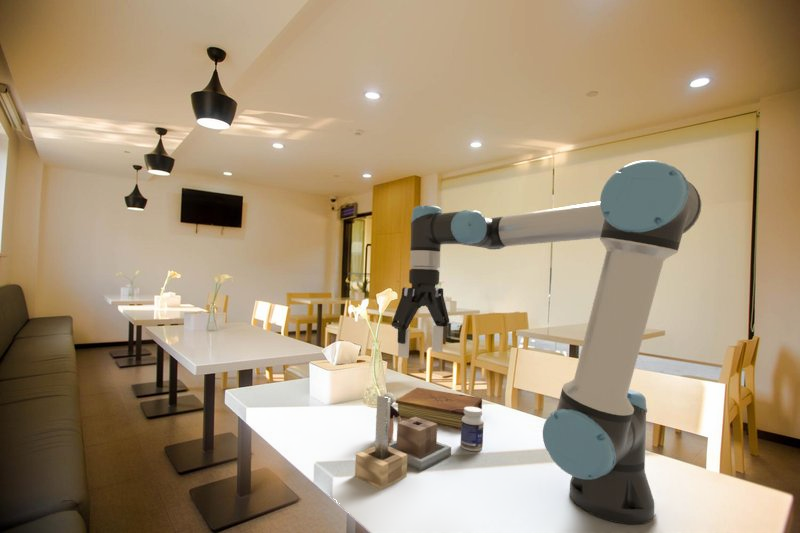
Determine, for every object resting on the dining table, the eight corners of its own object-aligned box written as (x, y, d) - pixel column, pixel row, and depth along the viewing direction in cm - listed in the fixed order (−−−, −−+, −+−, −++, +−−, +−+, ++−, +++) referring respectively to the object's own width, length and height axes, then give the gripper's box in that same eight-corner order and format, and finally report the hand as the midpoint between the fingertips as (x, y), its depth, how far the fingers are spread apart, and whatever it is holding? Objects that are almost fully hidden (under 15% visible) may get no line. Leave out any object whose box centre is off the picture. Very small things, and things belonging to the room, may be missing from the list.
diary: (481, 414, 136) (482, 397, 136) (465, 433, 119) (466, 413, 119) (417, 402, 146) (418, 386, 146) (394, 418, 129) (395, 399, 129)
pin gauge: (390, 473, 90) (393, 397, 92) (379, 476, 88) (382, 398, 90) (381, 469, 92) (384, 395, 95) (371, 472, 90) (374, 396, 93)
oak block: (406, 477, 90) (407, 454, 90) (381, 490, 84) (382, 466, 84) (380, 465, 96) (381, 443, 96) (354, 477, 89) (355, 453, 90)
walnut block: (436, 452, 102) (437, 423, 102) (418, 460, 97) (419, 430, 97) (414, 443, 107) (415, 416, 107) (396, 451, 101) (397, 423, 101)
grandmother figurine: (370, 440, 109) (373, 392, 109) (376, 435, 113) (378, 389, 113) (398, 445, 106) (400, 396, 107) (403, 440, 110) (405, 392, 110)
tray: (451, 455, 102) (451, 447, 102) (421, 470, 93) (421, 461, 93) (413, 441, 110) (413, 433, 110) (382, 454, 101) (383, 446, 101)
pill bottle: (482, 453, 104) (484, 413, 104) (459, 450, 105) (461, 411, 105) (482, 444, 110) (484, 406, 110) (461, 441, 111) (462, 404, 111)
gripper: (441, 270, 115) (438, 346, 114) (378, 266, 96) (375, 357, 95) (464, 270, 110) (461, 350, 109) (403, 266, 91) (399, 362, 90)
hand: (421, 354), depth 102 cm, fingers open, 13 cm apart
